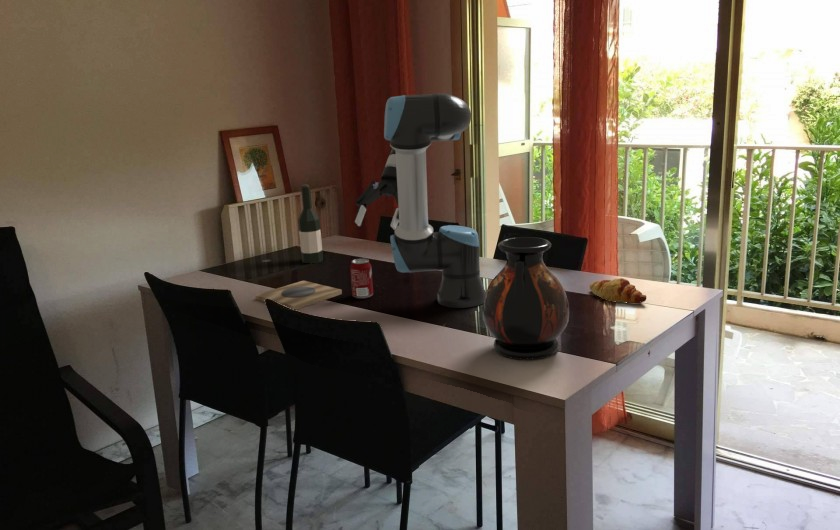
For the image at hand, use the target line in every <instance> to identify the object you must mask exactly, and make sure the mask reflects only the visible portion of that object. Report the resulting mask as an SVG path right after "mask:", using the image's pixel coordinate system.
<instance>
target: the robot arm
mask: <svg viewBox="0 0 840 530" xmlns="http://www.w3.org/2000/svg"><path fill="white" fill-rule="evenodd" d="M384 109H385V110H384V121H383V122H384V124H383V125H384V126H383V127H384V128H383V139H385V140H386V141H389V146H390V147H391V151H390V153H389V156H388V157H387V160H386V162H385V165H384V169H383V171H382V173H381V175H380V176H381V177H380V180H379V181H378V182H376V181H375V180H371V181H370V183H369V185H368V186H367V187H366V188H365V190H364V191H363V192H362V193H361V194H360V195H359V196H358V197H357V198H356V199H355V200H354V201H355V205H356V206H357V210H356V217H355V220H354V223H355V224H356V226H358V227H361V226H362V223H363V220H364V217H365V215H366V212H367V208H366V207H368V206H370V205H371V204H372V203H374V202H375V201H376V200H377V199H379V198H381V197H394V199H395V202H396V203H397V206H398V207H397V208H396V209H395V212H394V213H393V216H392V220H391V222H390V227H391V228H392V230H394V234H391V235H390V236H389V237H390V246H391V251H392V257H393V261H394V266H395V268H396V270H397V272H399V273H410V274H411V273H420V272H434V271H441V281H440V284H439V287H438V292H437V303H438V304H439V305H440V306H442V307H446V308H453V309H466V308H473V307H477V306H481V305H483V303H484V298H485V294H486V291H487V290H485V287H484V283H483V281H482V278H481V273H480V271H481V270H480V269H481V266H480V242H479V234H478V232H477V230H476V229H474V228H471V227H468V226H463V225H462V226H461V225H452V224H448V225H443V226H440V227H439V231H435V232H434V227H433V226H432V225H431V224H429V212H428V210H429V209H428V205H429V204H428V181H427V179H428V178H427V177H428V175H427V171H428V170H427V149H428V148H429V147H430V146H431V145H432V143H433V142H452V141H458V140H460V139H461V135H462V133H464V131H466V130H467V129H468V127H469V126H470V125H471V124H470V123H471V121H472V112H471V111H472V110H471V109H470V107H469V105H468V104H467V102H465V101H464V100H463V99H461V98H460V97H458V96H455V95H453V94H448V93H430V94H406V95H405V94H402V95H397V96H390V97H389V98H388V99H387V100H386V103H385V108H384Z"/></svg>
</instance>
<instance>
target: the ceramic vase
mask: <svg viewBox="0 0 840 530" xmlns="http://www.w3.org/2000/svg"><path fill="white" fill-rule="evenodd" d="M551 247H552V243H551V241H549V240H548V239H545V238H542V237H536V236H535V237H534V236H531V237H530V236H521V237H520V236H519V237H511V238H506V239H504V240H501V241H500V242H499V243H498V244H497V248H498V249H499V250H500V251H501V252H503V253H505V255H506V262H505V263H504V266H503V267H502V269H501V270H500V271H499V272H498V273H497V274H496V275H495V276H494V277H493V279H492V280H491V281H490V282H489V284H488V287H487V289H486V290H485V291H486V294H485V298H484V303H483V304H482V309H481V310H482V320H483V323H484V325H485V327H486V329H487V331H488V332H489V334H491V336H492V337H493V338H494V341H493V349H494V351H496V353H498V354H500V355H501V356H503V357H506V358H508V359H513V360H524V361H525V360H526V361H529V360H538V359H544V358H547V357H549V356H552V355H553V354H555V353H556V352H557V351H558V350H559V348H560V342H559V340H558V339H559V337H560V336H561V335H562V333H563V332H564V331H565V329H566V328H567V326H568V323H569V320H570V305H569V300H568V296H567V293H566V289H565V288H564V285H563V284H562V283H561V280H560V279H559V278H558V277H557V276H556V275H555V274H554V273H553V272H552V271H551V270H550V269H549V267H547V266H546V263H544V259H543V255H544V253H545V252H546V251H548V250H549V249H551Z"/></svg>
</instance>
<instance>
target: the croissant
mask: <svg viewBox="0 0 840 530" xmlns="http://www.w3.org/2000/svg"><path fill="white" fill-rule="evenodd" d="M589 290H590V291H591V292H592V294H593V295H594V296H596V295H597V296H599V297H601V298H602V299H607V300H606V301H608V300H610V301H616V303H618V302H627V303H639V304H641V303H645V302H646V301H647V295H646V294H643V293H642V291H640V290H638V289H637V288H636V285H633V284H631V282H630V281H629V280H628V279H625V278H623V277H619V278H614V279H603V280H601V281H595V282H592V283H590V285H589ZM597 296H596V297H597ZM599 297H598V298H599ZM601 298H600V299H601ZM602 299H601V300H602ZM610 301H609V302H610ZM627 303H626V304H627Z"/></svg>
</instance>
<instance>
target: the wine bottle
mask: <svg viewBox="0 0 840 530" xmlns="http://www.w3.org/2000/svg"><path fill="white" fill-rule="evenodd" d="M300 190H301V199H302V210H301V212H300V214H299V217H298V219H297V222H298V223H297V225H298V233H299V243H300V244H299V245H300V253H301V254H300V255H301V262H302V263H303V264H304V263H310V264H309V265H311V264H312V263H314V264H319V262H320V263H321V261H322V262H323V261H324V252H323V244H322V243H323V242H322V233H321V221H320V218H319V217H318V215H317V213H316V212H315V210H314V209H313V204H312V203H313V202H312V194H311V186H310V185H309V184H302V185H301V187H300ZM312 265H313V264H312Z"/></svg>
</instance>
